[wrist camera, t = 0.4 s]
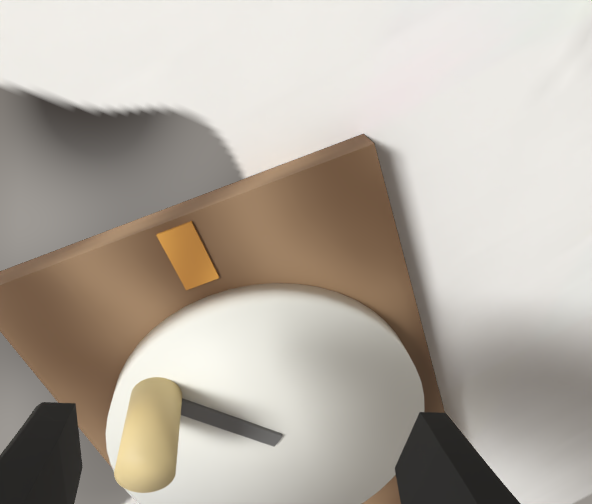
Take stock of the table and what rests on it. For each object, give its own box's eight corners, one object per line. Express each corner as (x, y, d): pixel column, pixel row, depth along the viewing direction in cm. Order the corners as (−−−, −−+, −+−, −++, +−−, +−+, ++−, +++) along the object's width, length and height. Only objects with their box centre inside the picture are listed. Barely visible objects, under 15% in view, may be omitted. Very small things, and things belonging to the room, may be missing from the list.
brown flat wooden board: (203, 552, 29) (202, 580, 28) (-13, 275, 19) (-31, 297, 18) (452, 462, 29) (464, 486, 28) (363, 133, 19) (375, 144, 18)
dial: (470, 357, 23) (532, 443, 19) (309, 534, 27) (327, 638, 23) (208, 225, 18) (205, 299, 14) (61, 467, 22) (23, 582, 18)
